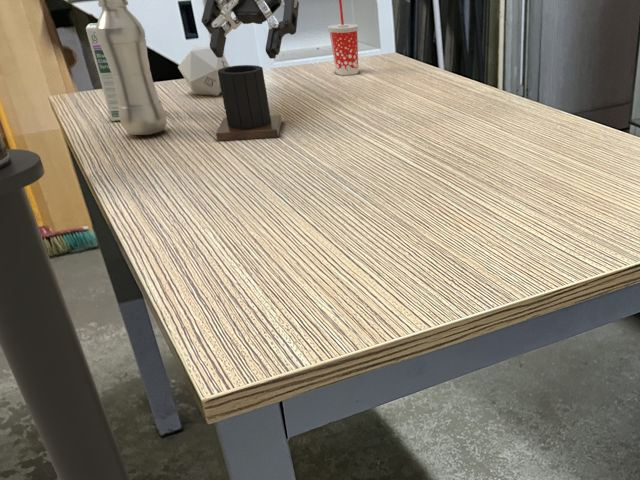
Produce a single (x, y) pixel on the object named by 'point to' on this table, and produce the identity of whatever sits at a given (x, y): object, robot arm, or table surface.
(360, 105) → the table surface
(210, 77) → the die
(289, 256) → the table surface
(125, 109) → the plastic bottle
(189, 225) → the table surface
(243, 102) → the black hollow cylinder
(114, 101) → the syrup box
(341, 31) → the beverage cup
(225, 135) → the peg stand
